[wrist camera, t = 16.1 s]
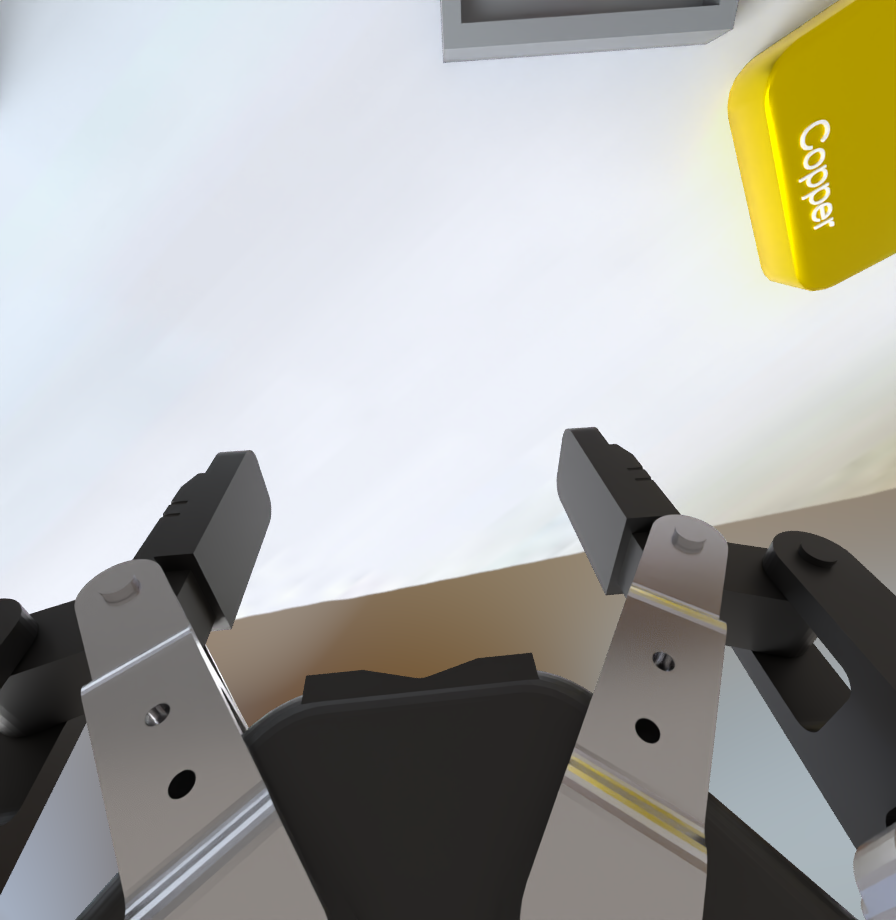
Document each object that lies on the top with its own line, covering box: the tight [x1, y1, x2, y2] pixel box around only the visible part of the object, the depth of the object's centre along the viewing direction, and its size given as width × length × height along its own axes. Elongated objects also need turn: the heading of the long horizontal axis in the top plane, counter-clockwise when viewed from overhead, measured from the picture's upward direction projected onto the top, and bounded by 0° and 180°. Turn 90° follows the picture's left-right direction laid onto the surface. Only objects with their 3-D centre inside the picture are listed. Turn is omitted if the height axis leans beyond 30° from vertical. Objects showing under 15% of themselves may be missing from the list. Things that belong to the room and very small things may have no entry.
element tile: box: [728, 0, 896, 291], centre depth 27 cm, size 15×15×5 cm
